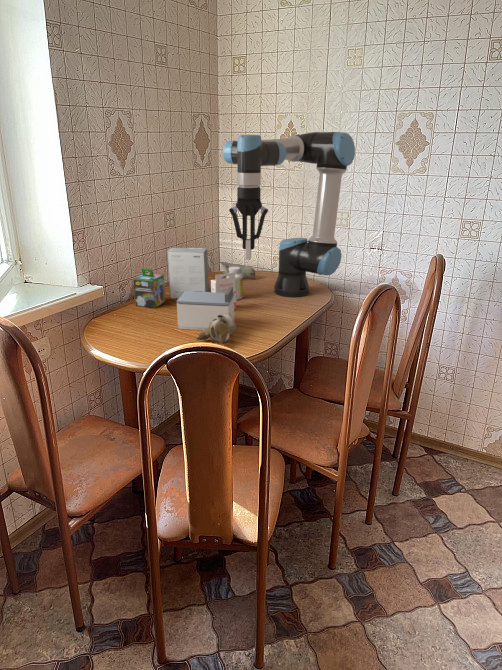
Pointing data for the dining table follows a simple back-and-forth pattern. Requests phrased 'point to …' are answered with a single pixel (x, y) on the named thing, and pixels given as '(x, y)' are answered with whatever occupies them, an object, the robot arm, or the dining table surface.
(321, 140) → the robot arm
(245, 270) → the decorative bird
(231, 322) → the ceramic sculpture
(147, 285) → the chalk box
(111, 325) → the dining table surface
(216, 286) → the ink cartridge box
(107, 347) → the dining table surface
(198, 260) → the hard drive box
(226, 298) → the lid
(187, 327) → the box
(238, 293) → the supplement bottle
